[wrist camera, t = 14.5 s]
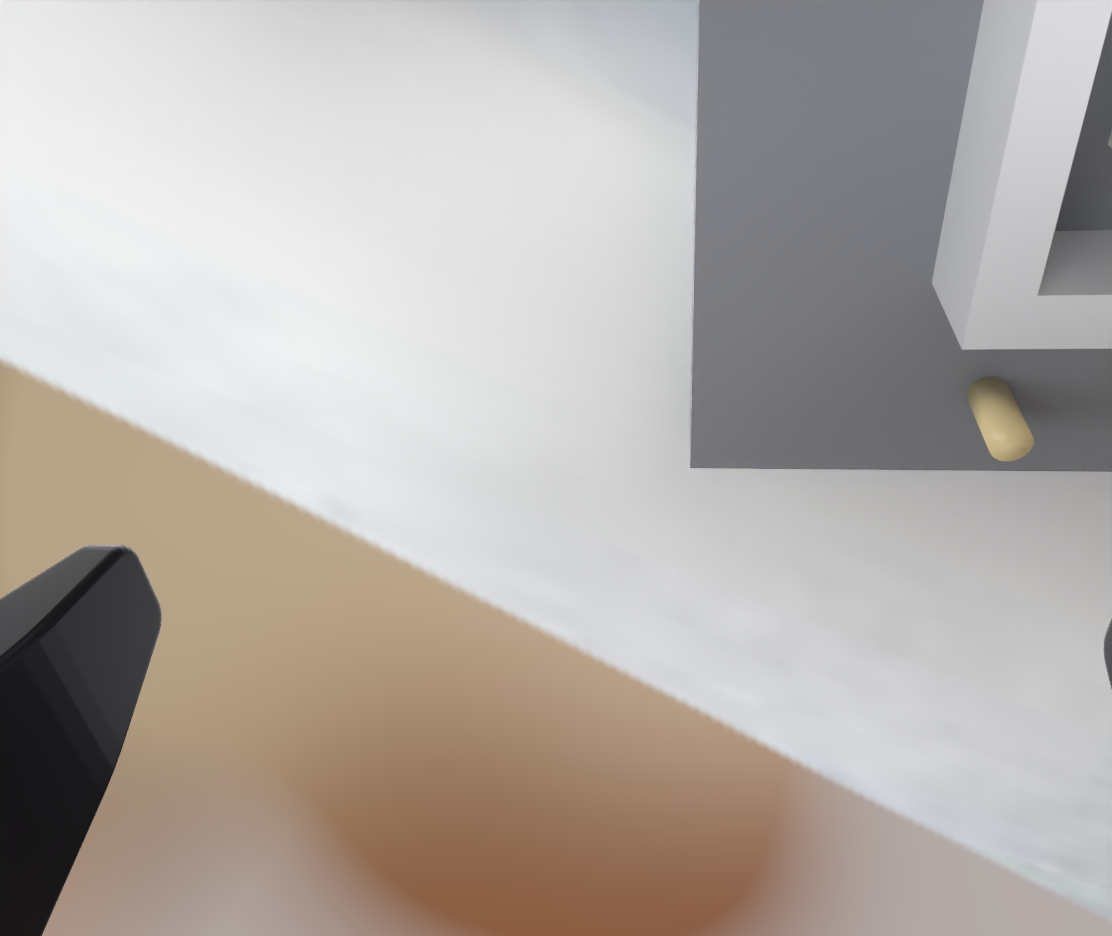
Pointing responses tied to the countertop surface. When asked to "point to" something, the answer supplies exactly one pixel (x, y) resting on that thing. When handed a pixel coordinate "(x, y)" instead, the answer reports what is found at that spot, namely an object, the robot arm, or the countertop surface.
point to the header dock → (903, 235)
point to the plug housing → (1110, 140)
